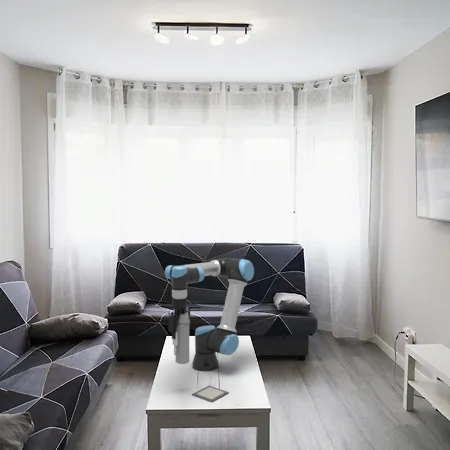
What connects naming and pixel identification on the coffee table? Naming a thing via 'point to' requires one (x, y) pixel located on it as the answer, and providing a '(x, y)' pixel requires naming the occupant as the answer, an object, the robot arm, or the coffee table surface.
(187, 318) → the water bottle
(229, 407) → the coffee table surface
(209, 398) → the coaster mat
